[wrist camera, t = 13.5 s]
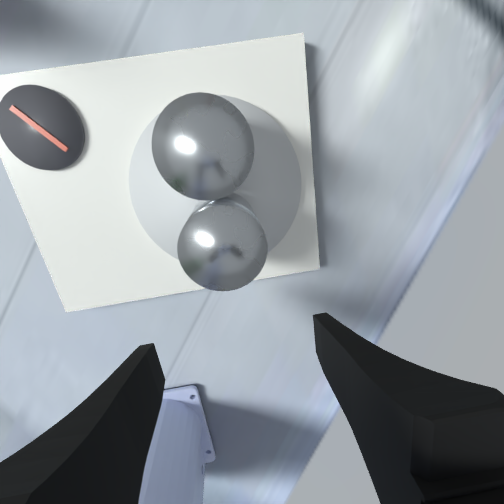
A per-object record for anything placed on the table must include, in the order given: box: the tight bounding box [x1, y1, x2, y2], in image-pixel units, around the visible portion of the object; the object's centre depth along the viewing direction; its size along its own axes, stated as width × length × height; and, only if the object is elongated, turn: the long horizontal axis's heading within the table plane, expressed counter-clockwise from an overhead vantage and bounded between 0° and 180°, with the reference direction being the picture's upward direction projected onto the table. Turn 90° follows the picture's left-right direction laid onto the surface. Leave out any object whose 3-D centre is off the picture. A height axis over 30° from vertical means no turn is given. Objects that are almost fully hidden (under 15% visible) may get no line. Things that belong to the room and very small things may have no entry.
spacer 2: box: [177, 193, 268, 291], centre depth 16 cm, size 4×4×6 cm
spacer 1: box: [151, 92, 254, 201], centre depth 15 cm, size 4×4×6 cm
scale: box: [0, 33, 320, 312], centre depth 19 cm, size 15×19×2 cm
